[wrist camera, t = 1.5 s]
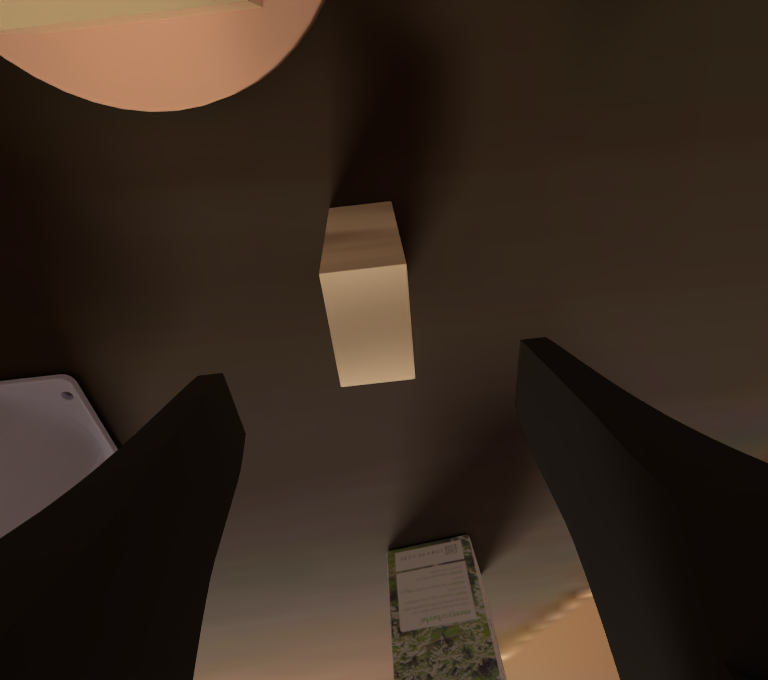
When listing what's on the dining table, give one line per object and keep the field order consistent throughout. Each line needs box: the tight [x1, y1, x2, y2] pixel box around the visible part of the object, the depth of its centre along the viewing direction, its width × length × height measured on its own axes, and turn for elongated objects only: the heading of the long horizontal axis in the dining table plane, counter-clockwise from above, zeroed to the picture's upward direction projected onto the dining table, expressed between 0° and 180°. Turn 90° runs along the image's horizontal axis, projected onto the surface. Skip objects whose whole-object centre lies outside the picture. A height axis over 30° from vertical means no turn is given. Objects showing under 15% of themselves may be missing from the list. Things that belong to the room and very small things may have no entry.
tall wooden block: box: [319, 201, 415, 387], centre depth 16 cm, size 4×2×6 cm, turn 6°
